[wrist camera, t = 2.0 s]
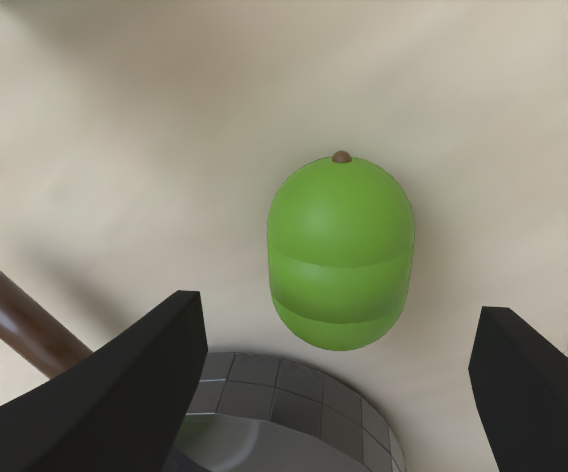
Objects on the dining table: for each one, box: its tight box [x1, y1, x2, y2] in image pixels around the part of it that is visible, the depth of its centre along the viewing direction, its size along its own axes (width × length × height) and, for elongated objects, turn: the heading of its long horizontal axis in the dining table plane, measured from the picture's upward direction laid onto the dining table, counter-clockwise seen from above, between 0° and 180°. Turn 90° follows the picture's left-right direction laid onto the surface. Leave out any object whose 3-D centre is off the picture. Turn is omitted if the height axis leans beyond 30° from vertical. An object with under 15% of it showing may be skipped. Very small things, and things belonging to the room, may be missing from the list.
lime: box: [267, 151, 415, 351], centre depth 15 cm, size 8×5×5 cm, turn 1°
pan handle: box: [0, 271, 94, 380], centre depth 18 cm, size 9×2×2 cm, turn 38°
